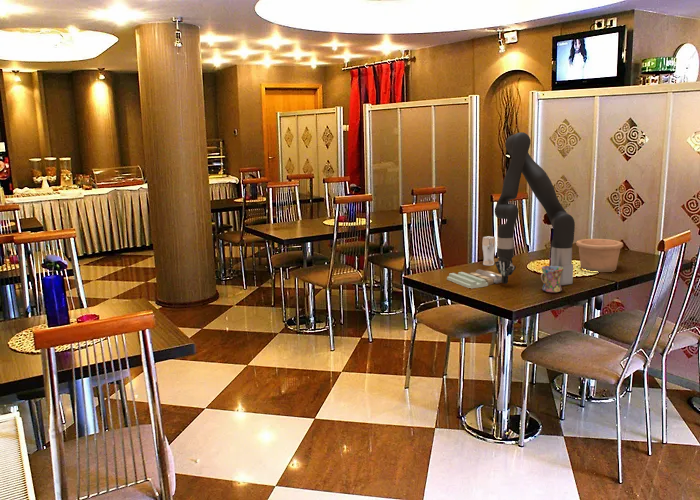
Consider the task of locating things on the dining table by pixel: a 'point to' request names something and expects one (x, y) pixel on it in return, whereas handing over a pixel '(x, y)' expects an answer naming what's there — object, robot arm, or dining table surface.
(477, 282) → the grooved block
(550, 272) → the mug
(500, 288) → the dining table surface
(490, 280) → the wooden blocks
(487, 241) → the beer glass
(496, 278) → the axle
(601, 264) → the pottery
